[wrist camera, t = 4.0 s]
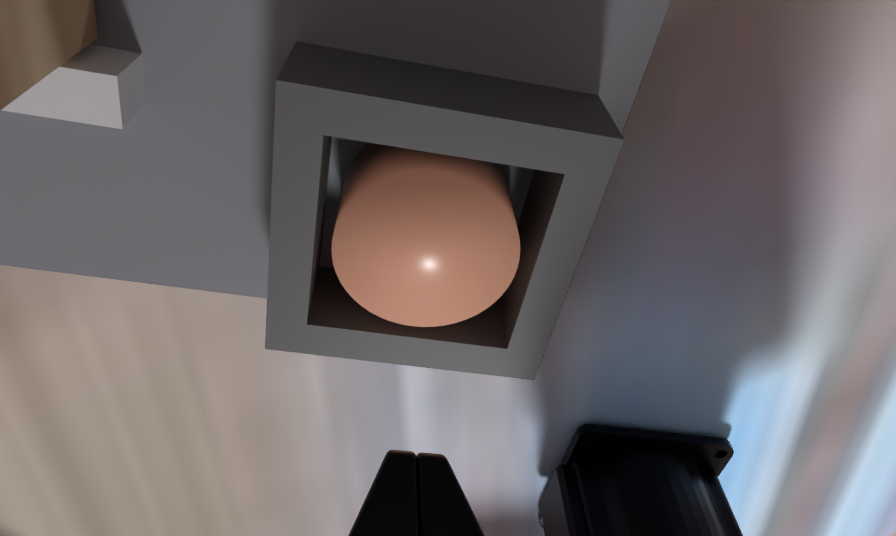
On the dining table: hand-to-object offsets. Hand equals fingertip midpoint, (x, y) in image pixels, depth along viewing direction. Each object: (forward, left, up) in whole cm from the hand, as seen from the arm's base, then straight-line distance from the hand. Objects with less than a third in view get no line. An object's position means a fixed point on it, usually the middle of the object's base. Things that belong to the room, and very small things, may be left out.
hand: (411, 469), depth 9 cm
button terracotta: (0, +1, -9) cm, 9 cm away
